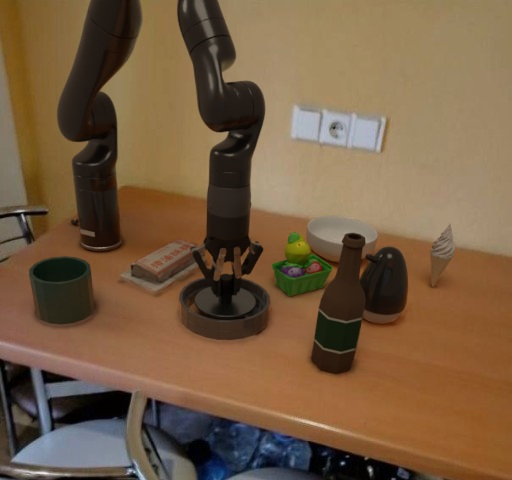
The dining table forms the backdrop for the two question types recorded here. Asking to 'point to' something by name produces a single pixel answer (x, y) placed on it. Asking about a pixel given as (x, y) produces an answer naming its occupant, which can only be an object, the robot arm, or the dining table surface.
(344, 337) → the beer bottle
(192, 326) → the pan
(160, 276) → the packaged product
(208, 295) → the lid
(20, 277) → the dining table surface
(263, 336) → the dining table surface
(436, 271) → the ice cream cone
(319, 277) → the fruit basket
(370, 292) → the penguin figurine
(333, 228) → the cereal bowl
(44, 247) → the dining table surface
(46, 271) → the pot
